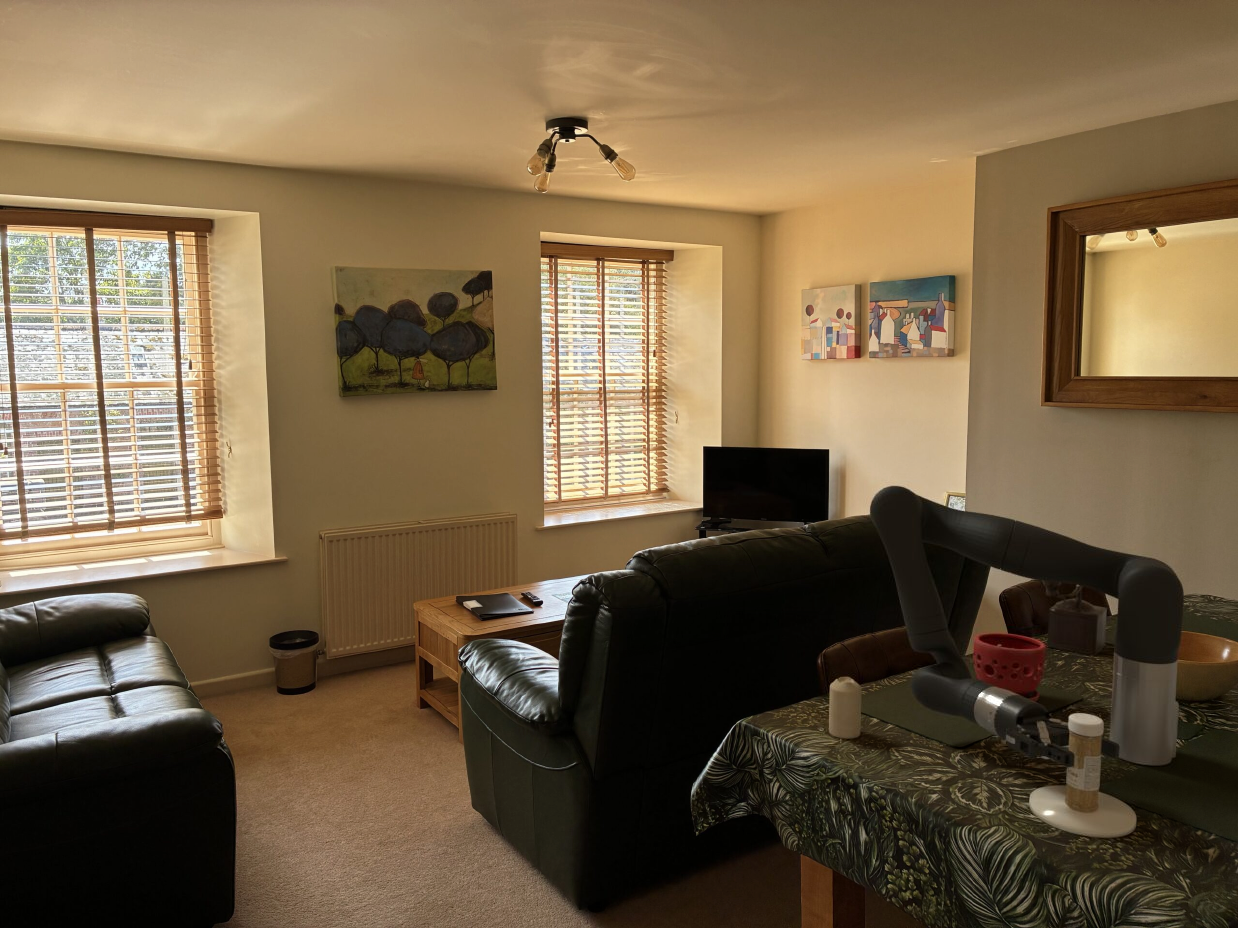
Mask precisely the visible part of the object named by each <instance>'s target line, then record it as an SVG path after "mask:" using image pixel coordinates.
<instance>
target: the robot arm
mask: <svg viewBox="0 0 1238 928" xmlns="http://www.w3.org/2000/svg"><path fill="white" fill-rule="evenodd" d="M869 516H870V518H871V521H872V524H873V525H874V526H875V528H876V531H877V533H878V536H879V538H880V539H881V541H882V545H883V546H884V548H885V551H886V554H887V556H888V560H889V563H890V566H891V569H892V574H893V577H894V580H895V581H894V582H895V584H896V585H895V586H896V589H897V593H898V598H899V604H900V607H901V612H902V615H903V620H904V625H905V629H906V633H907V636H908V641H909V644H910V646H911V648H912V650H913V651H914V652H918V653H930V654H931V655H932V656H933V658H934V660H935V661H936V664H931V665H928V666H924V667H920V668H919V669H917V670H915V671H914V672H913V674H912V676H911V678H910V681H909V682H910V683H909V685H910V691H911V693H912V695H913V697H914V699H915V700H916V701H917V702H918V703H919V704H920V705H922V706H923V707H925V709H928V710H931V711H934V712H936V713H941V714H945V715H949V716H955V717H961V718H964V719H965V720H968V721H970V722H972V723H973V724H976V725H978V726H980V727H982V728H983V729H984V730H986V731H988V732H989V733H991V734H992V735H994V736H996V737H998V738H1000V739H1002V740H1004V741H1005V746H1007V747H1009V748H1011V749H1012V750H1014V751H1016V752H1018V753H1020V754H1022V755H1023V756H1025V757H1027V758H1029V759H1031V760H1037V759H1038V757H1041V759H1044V760H1053V761H1054V762H1056V763H1058V764H1060V765H1062V766H1064V767H1066V768H1067V767H1068V768H1069V767H1073V766H1074V758H1075V756H1074V753H1073V752H1071V751H1069V734H1070V732H1069V728H1068V722H1066V721H1065V722H1064V721H1062V720H1061V719H1057V718H1052V716H1051V715H1050V713H1049V711H1048V710H1047V708H1046V707H1045V706H1044V705H1043V704H1040V703H1038V702H1037V701H1036V702H1034V701H1032V700H1030V699H1027V698H1025V697H1023V696H1020V695H1018V694H1016V693H1014V692H1011V691H1009V690H1006V689H1001V688H998V687H996V686H994V685H991V684H989V683H987V682H984V681H982V680H979V679H978V678H972V674H971V671H970V669H969V667H968V665H967V664H966V661H965V660H964V658H963V657H962V654H961V653H960V651H959V649H958V648H957V646H956V644H955V642H954V641H953V638H952V637H951V634H950V630H949V627H948V623H947V619H946V615H945V611H944V608H943V604H942V602H941V598H940V595H939V592H938V589H937V586H936V584H935V581H934V578H933V575H932V572H931V570H930V567H929V564H928V560H927V557H926V552H925V551H926V550H925V547H924V543H928V544H931V545H936V546H941V547H943V548H946V549H949V550H951V551H954V552H955V553H957V554H960V555H962V556H964V557H966V558H968V559H970V560H973V561H975V562H978V563H980V564H983V565H985V566H987V567H990V568H993V569H997V570H1000V571H1003V572H1006V573H1008V574H1012V575H1015V576H1019V577H1021V578H1022V577H1023V578H1027V579H1030V580H1035V581H1042V582H1043V581H1049V582H1059V583H1061V584H1070V585H1080V586H1083V588H1088V589H1091V590H1093V591H1097V592H1099V593H1102V594H1105V595H1107V596H1110V597H1112V598H1115V599H1117V614H1116V615H1117V618H1116V630H1115V636H1114V648H1113V649H1114V650H1113V652H1114V653H1113V667H1112V668H1113V669H1112V670H1113V671H1112V690H1111V691H1112V692H1111V707H1110V708H1111V709H1110V727H1109V728H1110V729H1109V738H1106V737H1105V733H1106V730H1105V728H1104V730H1103V734H1102V739H1101V740H1102V741H1101V755H1104V756H1106V757H1108V758H1110V759H1118V758H1119V759H1121V760H1124V761H1126V762H1130V763H1134V764H1139V765H1143V766H1164V765H1168V764H1170V763H1171V762H1172V760H1173V758H1176V757H1177V742H1178V741H1177V740H1178V724H1179V723H1178V722H1179V706H1180V705H1179V702H1178V701H1176V697H1177V696H1176V694H1177V692H1176V691H1177V676H1178V663H1179V662H1178V658H1179V650H1180V646H1181V642H1182V629H1183V618H1184V607H1185V606H1184V605H1185V604H1184V602H1185V599H1184V598H1185V594H1184V592H1185V591H1184V587H1183V583H1182V582H1181V580H1180V578H1179V577H1178V576H1177V574H1176V573H1177V572H1175V570H1174V569H1173V568H1172V567H1170V566H1169V565H1168V564H1167V563H1165V562H1163V561H1161V560H1160V559H1156V558H1152V557H1148V556H1143V555H1138V554H1130V553H1126V552H1122V551H1115V550H1111V549H1106V548H1102V547H1098V546H1094V545H1091V544H1088V543H1085V542H1083V541H1079V540H1077V539H1074V538H1072V537H1069V536H1066V535H1063V534H1062V533H1058V532H1055V531H1052V530H1049V529H1045V528H1043V527H1040V526H1038V525H1037V526H1036V525H1033V524H1030V523H1027V522H1023V521H1020V520H1015V519H1013V518H1008V517H1004V516H999V515H994V514H988V513H982V512H974V511H968V510H966V511H965V510H962V509H961V510H960V509H956V508H952V507H951V506H950V507H949V506H946V505H944V504H942V503H938V502H935V501H934V500H930V499H928V498H925V497H923V496H921V495H918V494H917V493H915V492H914V491H912V490H911V489H909V488H907V487H905V486H902V485H890V486H886V487H883V488H882V489H880V490H879V491H878V492H877V493H875V495H874V497H873V498H872V500H871V502H870V506H869ZM1067 748H1068V749H1067Z"/></svg>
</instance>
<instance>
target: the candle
mask: <svg viewBox="0 0 1238 928" xmlns="http://www.w3.org/2000/svg"><path fill="white" fill-rule="evenodd" d="M828 703H829V708H828V713H829V714H828V716H829V717H828V732H829V734H830V735H831V736H834V737H837V738H840V739H847V740H848V739H856V738H859V736H860V735H861V727H862V725H861V724H862V723H861V721H862V720H861V719H862V718H861V717H862V687H861V685H860V684H859V683H857V681H855V680H854V679H853V678H851V677H850V676H840V677H839V678H836V679H835V680H834V681H833V682H831V683H830V685H829V702H828Z"/></svg>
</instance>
